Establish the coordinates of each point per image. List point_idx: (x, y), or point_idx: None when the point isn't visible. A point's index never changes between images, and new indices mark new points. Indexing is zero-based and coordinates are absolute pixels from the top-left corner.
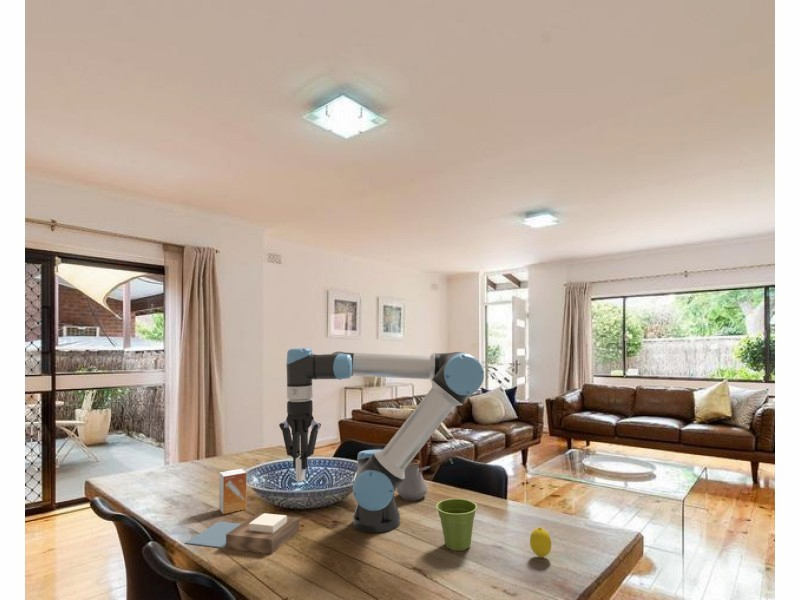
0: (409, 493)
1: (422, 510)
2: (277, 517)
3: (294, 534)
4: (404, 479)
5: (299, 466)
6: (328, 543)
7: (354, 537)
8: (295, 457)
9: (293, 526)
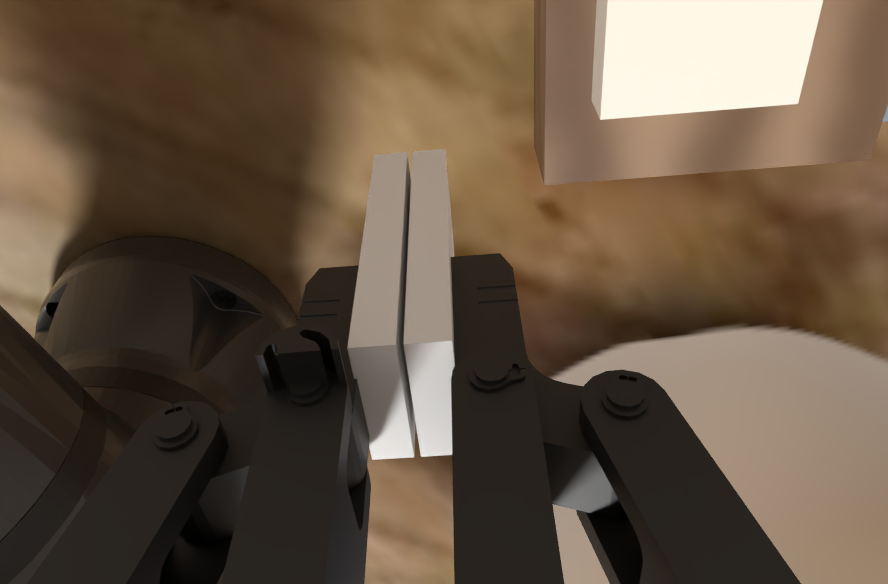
0: None
1: None
2: (654, 66)
3: (534, 92)
4: None
5: (382, 265)
6: (260, 50)
7: (172, 166)
8: (461, 361)
9: (541, 102)
